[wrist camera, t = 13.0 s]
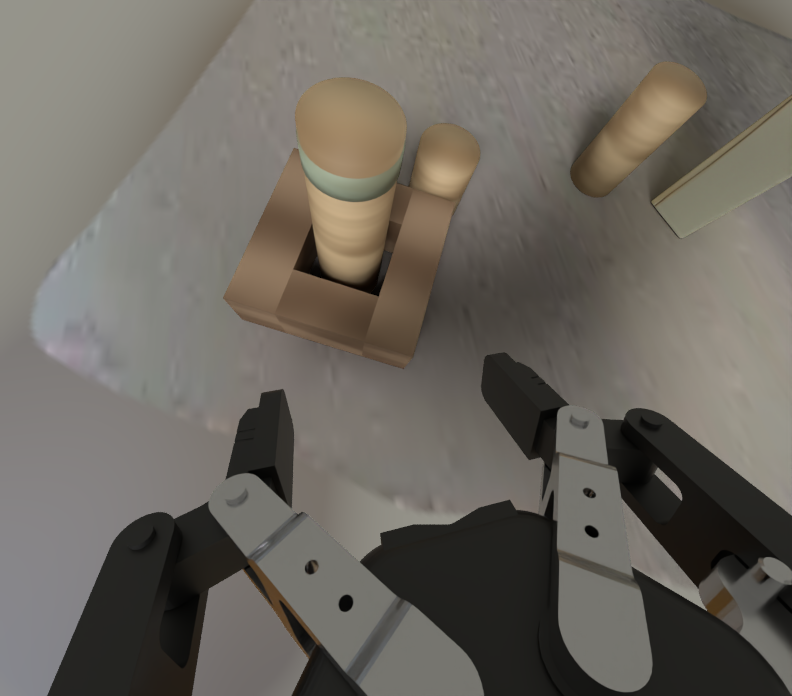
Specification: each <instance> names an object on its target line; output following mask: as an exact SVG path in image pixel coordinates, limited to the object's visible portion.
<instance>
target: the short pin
mask: <svg viewBox="0 0 792 696" xmlns="http://www.w3.org/2000/svg"><path fill="white" fill-rule="evenodd" d="M479 159H480V148H479V145H478V143H477V141H476V139H475V138H474V137H473V136H472V135H471V133H469V132H468V131H467V130H465V129H464V128H462V127H460V126H457V125H454V124H448V123H441V124H436V125H433V126H431V127H429V128H428V129H426V130H425V131H424V133H423V134H422V136H421V139H420V143H419V147H418V151H417V155H416V159H415V164H414V168H413V172H412V176H411V180H410V184H409V187H410V188H413V189H416V190H419V191H422V192H425V193H428V194H431V195H434V196H437V197H440V198H443V199H445V200H448V201H451V202H454V203H455V205H454V209H453V213H452V215H453V214H454V212H455V210H456V208H457V206H458V204H459V202H460V200H461V198H462V195H463V193H464V191H465V189H466V187H467V185H468V183H469V181H470V179H471V176H472V174H473V172H474V170H475V168H476V166H477V164H478V162H479ZM451 217H452V216H451Z"/></svg>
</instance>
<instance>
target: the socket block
mask: <svg viewBox="0 0 792 696" xmlns="http://www.w3.org/2000/svg"><path fill="white" fill-rule="evenodd" d="M454 205H455V203H454V202H451V201H448V200H445V199H443V198H440V197H437V196H434V195H431V194H428V193H425V192H422V191H419V190H416V189H413V188H410V187H407V186H404V185H401V184H398V183H396V188H395V194H394V199H393V204H392V209H391V214H390V219H389V225H388V230H387V235H386V240H385V245H384V250H385V251H388V252H391V253H393V254H392V257H391V260H390V264H389V267H388V270H387V273H386V276H385V279H384V282H383V285H382V288H381V291H380V295H379V297H378V296H375V295H372V294H369V293H366V292H363V291H360V290H356V289H353V288H350V287H347V286H344V285H341V284H338V283H334V282H331V281H328V280H325V279H322V278H319V277H316V276H312V275H309V273H310V271H311V268H312V266H313V263H314V261H315V258H316V256H317V249H316V243H315V236H314V230H313V224H312V218H311V212H310V206H309V200H308V194H307V188H306V182H305V176H304V171H303V168H302V165H301V160H300V154H299V149H296V148H294V149H293V151H292V153H291V155H290V157H289V160H288V162H287V164H286V166H285V168H284V170H283V172H282V174H281V176H280V179H279V181H278V183H277V185H276V187H275V189H274V191H273V193H272V196H271V198H270V200H269V202H268V204H267V206H266V208H265V210H264V212H263V215H262V217H261V219H260V221H259V223H258V225H257V227H256V229H255V231H254V234H253V236H252V238H251V240H250V242H249V244H248V246H247V248H246V250H245V253H244V255H243V257H242V259H241V261H240V263H239V265H238V267H237V270H236V272H235V274H234V276H233V278H232V280H231V282H230V284H229V286H228V289H227V291H226V293H225V295H224V297H223V299H224V300H225V301H226V302H227V303H228V304H229V305H230V306H231V307H232V308H233V310H234V311H235V312H236V313H237V314H238V315H239V316H240V317H241V318H242V319H243V320H246V321H249V322H252V323H256V324H259V325H262V326H265V327H269V328H272V329H275V330H278V331H282V332H285V333H288V334H291V335H295V336H298V337H301V338H305V339H308V340H311V341H314V342H318V343H321V344H324V345H327V346H331V347H334V348H337V349H340V350H344V351H347V352H350V353H353V354H357V355H360V356H363V357H366V358H370V359H373V360H376V361H380V362H383V363H386V364H389V365H393V366H396V367H399V368H402V369H404V367H405V366H406V365H407V364H408V363H409V361H410V360H411V359H412V358H413V356H414V352H415V348H416V345H417V341H418V337H419V334H420V330H421V326H422V323H423V319H424V315H425V312H426V308H427V304H428V301H429V297H430V293H431V290H432V286H433V282H434V279H435V275H436V271H437V268H438V264H439V260H440V257H441V253H442V249H443V246H444V242H445V238H446V235H447V231H448V227H449V224H450V220H451V216H452V213H453V209H454Z"/></svg>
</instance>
